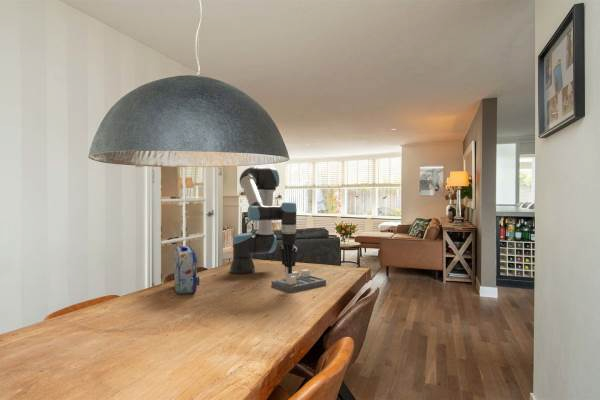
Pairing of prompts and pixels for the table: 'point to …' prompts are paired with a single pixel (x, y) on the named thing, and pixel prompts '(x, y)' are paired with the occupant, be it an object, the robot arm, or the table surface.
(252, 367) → the table surface
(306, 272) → the switch
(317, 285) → the switch panel
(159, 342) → the table surface
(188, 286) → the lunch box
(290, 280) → the switch
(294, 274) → the switch middle
